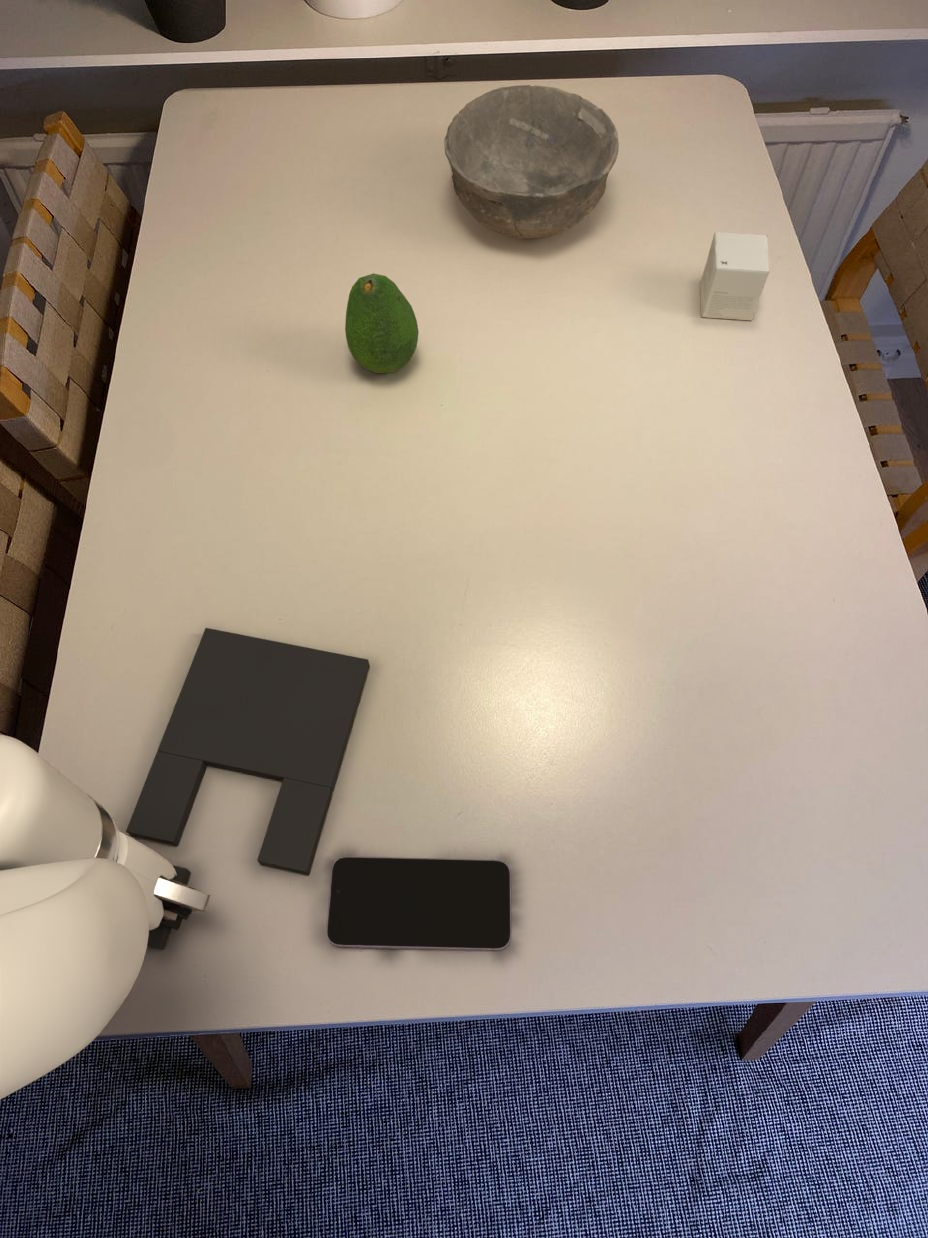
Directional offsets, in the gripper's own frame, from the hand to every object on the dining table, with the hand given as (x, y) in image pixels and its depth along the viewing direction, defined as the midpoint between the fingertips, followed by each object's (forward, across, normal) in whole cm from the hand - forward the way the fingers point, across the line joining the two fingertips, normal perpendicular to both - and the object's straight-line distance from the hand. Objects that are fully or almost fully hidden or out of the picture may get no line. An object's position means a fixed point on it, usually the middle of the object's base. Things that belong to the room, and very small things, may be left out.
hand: (139, 900), depth 76 cm
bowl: (+1, +16, +91) cm, 92 cm away
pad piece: (+1, 0, 0) cm, 1 cm away
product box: (+1, +42, +80) cm, 90 cm away
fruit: (+1, +5, +62) cm, 62 cm away
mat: (+1, +5, +15) cm, 16 cm away
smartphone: (+1, +23, +5) cm, 23 cm away
